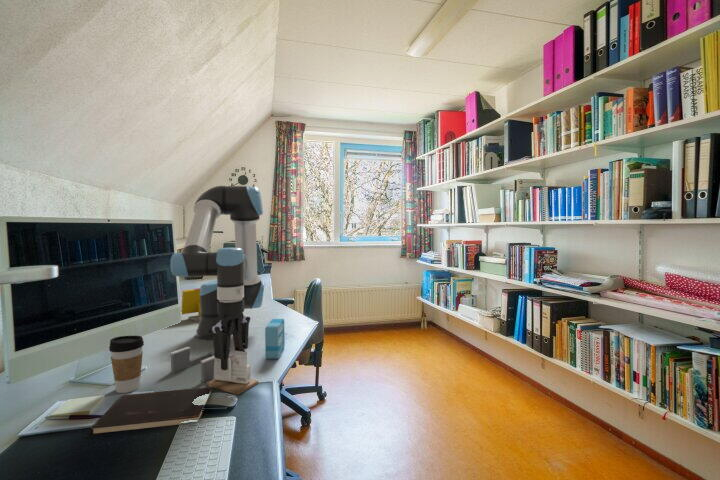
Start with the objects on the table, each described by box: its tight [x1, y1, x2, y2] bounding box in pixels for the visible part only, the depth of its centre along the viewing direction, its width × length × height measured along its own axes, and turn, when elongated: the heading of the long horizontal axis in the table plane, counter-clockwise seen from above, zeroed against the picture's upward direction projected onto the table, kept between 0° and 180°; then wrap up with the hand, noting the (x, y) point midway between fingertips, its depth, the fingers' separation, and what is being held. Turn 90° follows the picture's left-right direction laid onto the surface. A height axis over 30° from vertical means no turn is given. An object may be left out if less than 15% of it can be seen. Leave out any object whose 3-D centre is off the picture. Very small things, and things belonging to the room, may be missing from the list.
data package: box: [264, 318, 286, 360], centre depth 129 cm, size 12×4×12 cm, turn 1°
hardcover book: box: [90, 386, 213, 435], centre depth 90 cm, size 16×23×2 cm
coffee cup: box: [108, 335, 145, 394], centre depth 102 cm, size 8×8×15 cm
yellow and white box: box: [180, 287, 201, 322], centre depth 178 cm, size 20×8×16 cm, turn 130°
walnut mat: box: [205, 378, 259, 395], centre depth 105 cm, size 13×8×1 cm, turn 63°
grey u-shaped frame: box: [169, 346, 215, 383], centre depth 117 cm, size 16×16×6 cm
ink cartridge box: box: [213, 349, 252, 384], centre depth 105 cm, size 2×11×10 cm, turn 78°
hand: (232, 376), depth 105 cm, fingers open, 3 cm apart
